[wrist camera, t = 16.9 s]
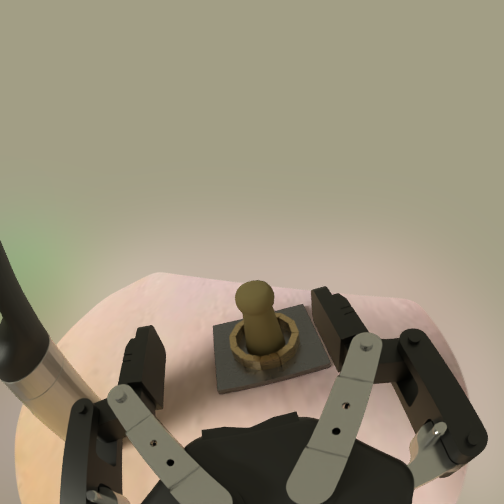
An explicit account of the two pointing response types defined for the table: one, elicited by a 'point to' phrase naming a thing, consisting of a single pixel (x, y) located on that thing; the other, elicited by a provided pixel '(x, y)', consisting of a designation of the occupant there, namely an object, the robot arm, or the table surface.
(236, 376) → the collar plate
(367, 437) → the table surface
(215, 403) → the table surface
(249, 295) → the cork
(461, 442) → the robot arm
